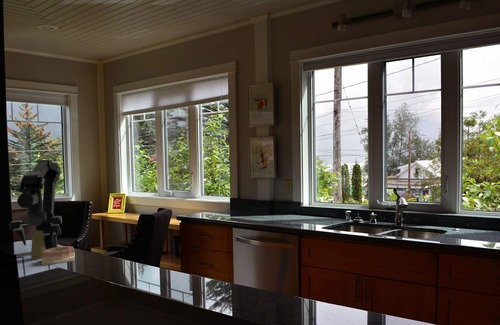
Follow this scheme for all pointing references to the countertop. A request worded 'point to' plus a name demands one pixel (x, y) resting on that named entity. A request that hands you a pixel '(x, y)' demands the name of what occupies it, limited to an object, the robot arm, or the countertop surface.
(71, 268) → the countertop surface
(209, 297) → the countertop surface
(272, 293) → the countertop surface
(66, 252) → the socket board
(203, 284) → the countertop surface
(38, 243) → the cork
